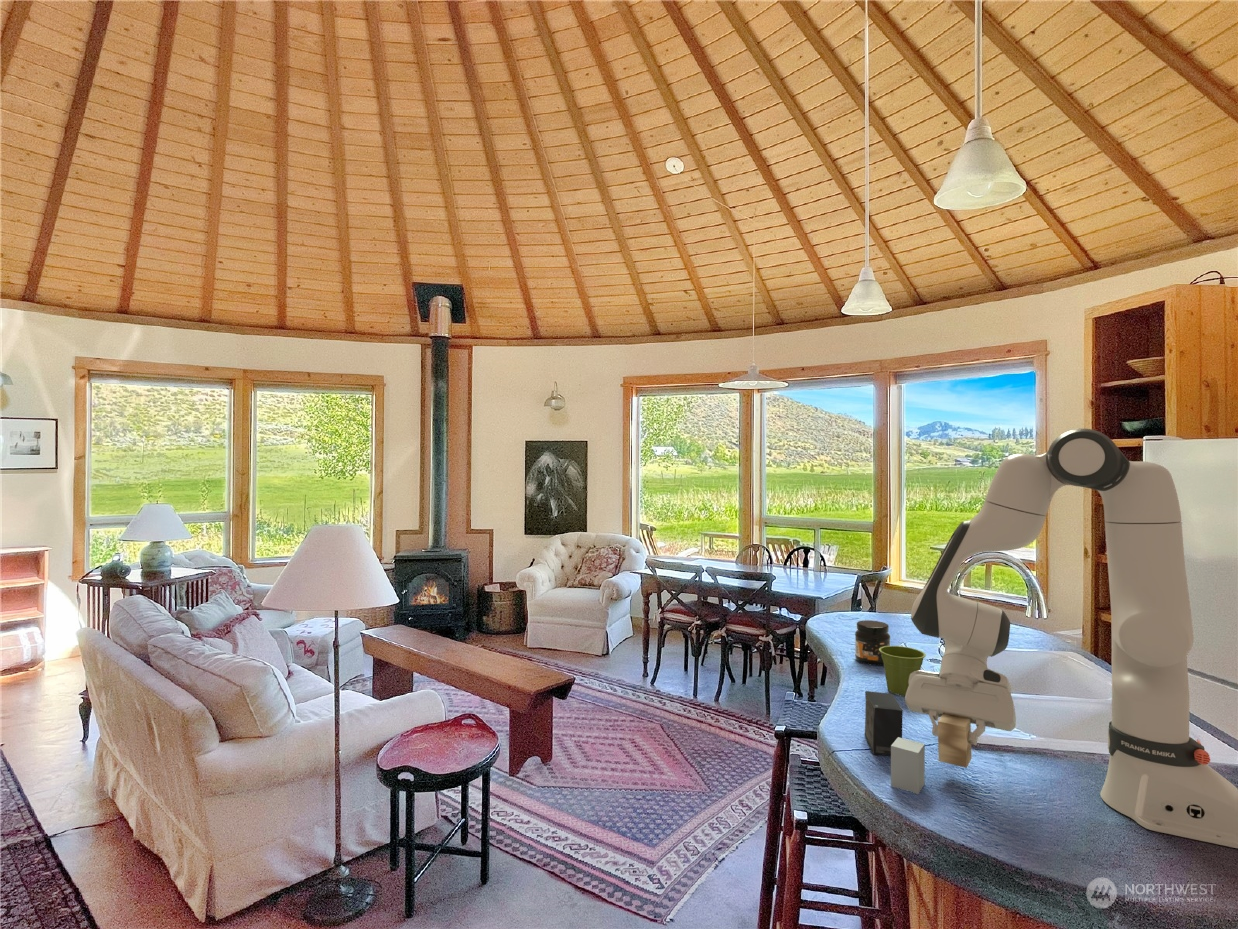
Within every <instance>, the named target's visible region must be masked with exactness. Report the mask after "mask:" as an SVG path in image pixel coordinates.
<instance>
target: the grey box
mask: <svg viewBox="0 0 1238 929" xmlns="http://www.w3.org/2000/svg"><path fill="white" fill-rule="evenodd" d="M925 747H926V744H925V743H923V742H919V741H915V740H911V739H907V738H903V737H902V738H900V737H898V738H897V739H896V740H895V741H894V743H893V744H892V745H891V756H890V787H893V788H895V787H897V788H896V789H899V788H900V789H899V790H902V789H904V790H903V791H905V790H908V791H911V792H910V793H912V792H914V793H913V794H915V793H916V794H915V795H919V794H920V792H921V791H920V790H922V789H923V788H922V787H924V785H925V784H926V782H925V780H926V779H925V776H926V774H925V770H926V769H925V768H926V767H925V766H926V765H925V764H926V763H925V760H926V757H925V756H926V755H925V754H926V753H925V752H926V750H925V749H926V748H925ZM908 791H907V792H908Z"/></svg>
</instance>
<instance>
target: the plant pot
mask: <svg viewBox="0 0 1238 929" xmlns="http://www.w3.org/2000/svg"><path fill="white" fill-rule="evenodd" d="M879 651H880V652H881V654H882V660H883V662H884V665H883V668H884V674H885V682H886V688H887V690H888V691H889V693H891V694H893V695H898V696H900V695H901V697H905V696H906V692H907V689H908V686H909V684H908V681H909V676H910V674H911V673H913V672H915V671H918V670H922V669H921V668H922V665H923V662H924V658H926V656H927V655H926V653H925V652H924V651H922V650H919V649H917V648H913V647H908V646H903V645H902V646H900V645H890V646H884V647H881V648H879ZM915 674H917V673H915Z"/></svg>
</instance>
